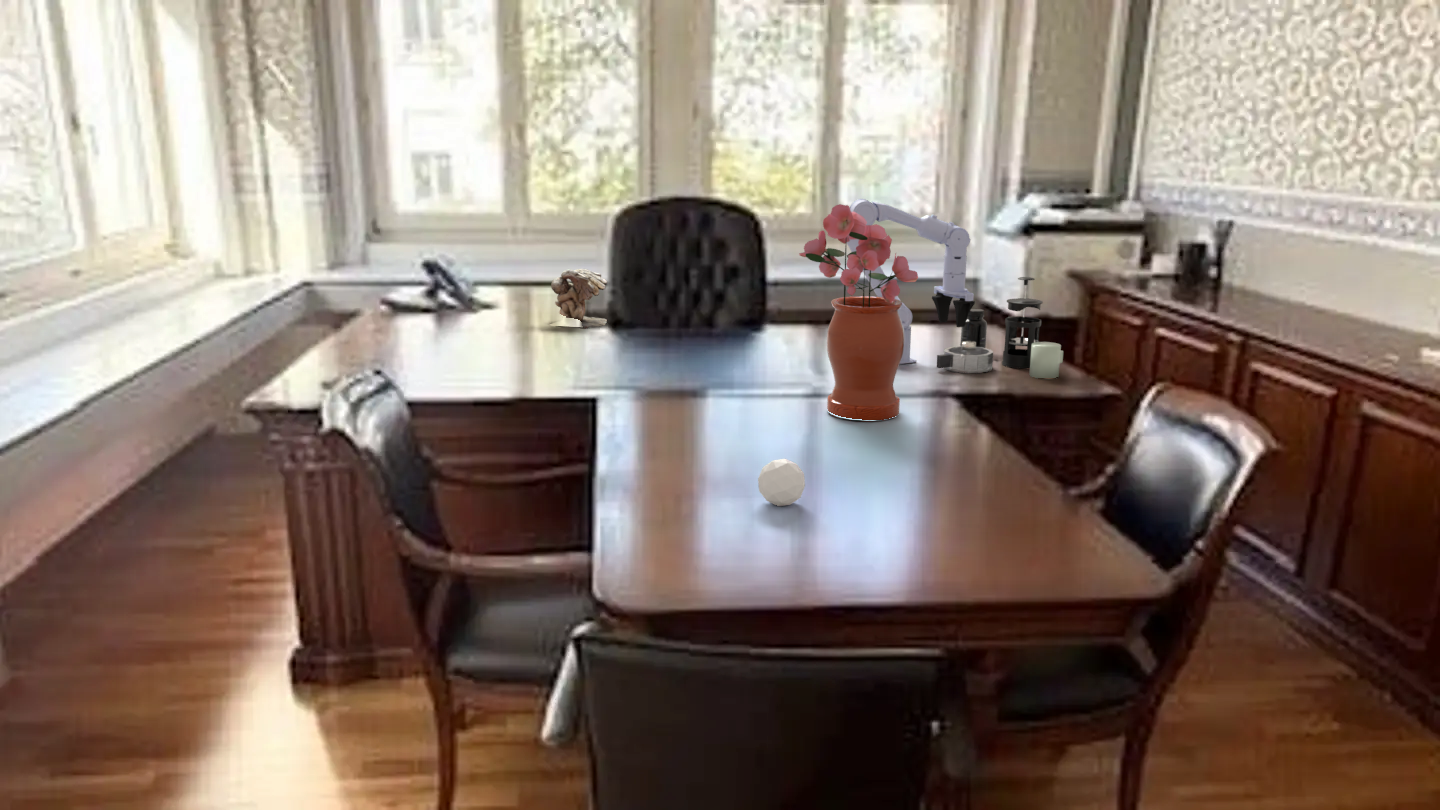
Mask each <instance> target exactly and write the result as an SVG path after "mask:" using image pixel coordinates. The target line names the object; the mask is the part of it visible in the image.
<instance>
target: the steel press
mask: <svg viewBox="0 0 1440 810" xmlns="http://www.w3.org/2000/svg"><path fill="white" fill-rule="evenodd" d="M966 353H967V350H962V346H960V345H955V346H949V347H946V348H944V352H943V354H937V355H936V368H937V369H945V370H946V371H948V372H952V371H953V373H958V372H959V373H960V374H969V373H976V374H983V373H982V372H986V373H989V372H991V371H992V369H993V363H994V351H993V350H992V349H990V348H987V347H986V348H983V347H976V350H973V351H971V353H970V355H966ZM990 370H991V371H990ZM988 371H989V372H988ZM959 373H958V374H959Z"/></svg>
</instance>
